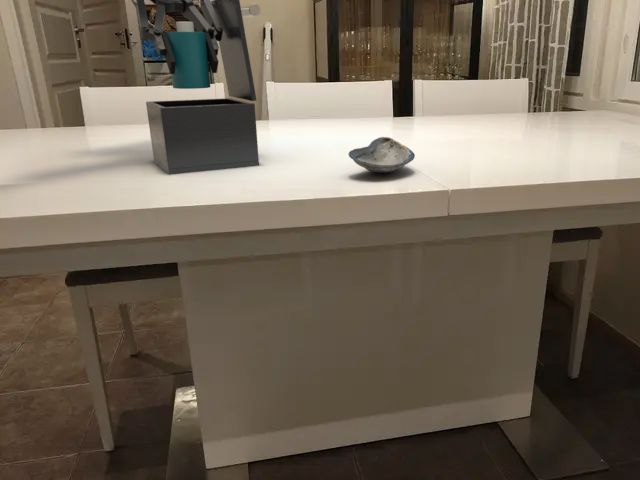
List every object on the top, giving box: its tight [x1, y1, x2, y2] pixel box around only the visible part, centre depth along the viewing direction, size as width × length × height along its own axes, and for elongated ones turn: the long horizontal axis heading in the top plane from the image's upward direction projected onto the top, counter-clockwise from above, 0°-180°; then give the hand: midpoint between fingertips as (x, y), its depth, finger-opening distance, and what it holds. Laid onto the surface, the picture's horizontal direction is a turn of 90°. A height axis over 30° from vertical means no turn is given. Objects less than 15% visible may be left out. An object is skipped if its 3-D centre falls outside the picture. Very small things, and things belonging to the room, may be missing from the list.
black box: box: [145, 97, 260, 176], centre depth 102 cm, size 16×14×11 cm
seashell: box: [348, 136, 416, 174], centre depth 95 cm, size 15×12×5 cm
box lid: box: [210, 0, 261, 102], centre depth 101 cm, size 17×14×6 cm
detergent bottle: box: [166, 21, 211, 90], centre depth 97 cm, size 6×6×11 cm
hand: (194, 67), depth 94 cm, fingers closed on detergent bottle, 6 cm apart
